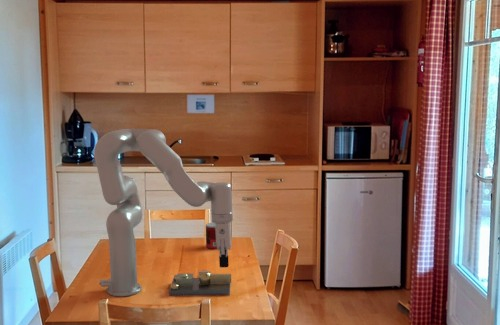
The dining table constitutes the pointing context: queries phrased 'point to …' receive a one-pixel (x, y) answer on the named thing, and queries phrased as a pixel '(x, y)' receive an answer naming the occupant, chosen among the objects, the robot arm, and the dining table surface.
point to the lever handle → (213, 278)
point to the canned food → (211, 236)
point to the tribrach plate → (196, 286)
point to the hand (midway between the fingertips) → (224, 266)
